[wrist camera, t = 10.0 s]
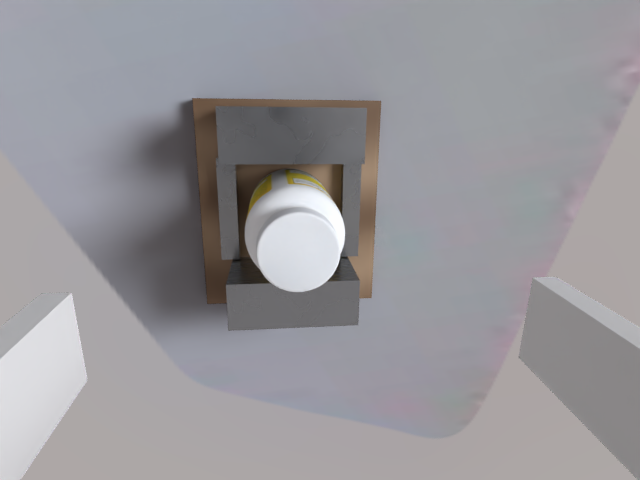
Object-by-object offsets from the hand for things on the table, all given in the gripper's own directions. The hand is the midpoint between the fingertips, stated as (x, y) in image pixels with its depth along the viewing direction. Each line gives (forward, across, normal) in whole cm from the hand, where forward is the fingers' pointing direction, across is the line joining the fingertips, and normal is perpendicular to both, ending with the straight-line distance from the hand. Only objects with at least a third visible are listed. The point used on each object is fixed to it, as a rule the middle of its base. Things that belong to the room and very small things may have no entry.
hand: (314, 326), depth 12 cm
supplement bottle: (+18, 0, -1) cm, 18 cm away
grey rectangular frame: (+18, 0, -1) cm, 19 cm away
